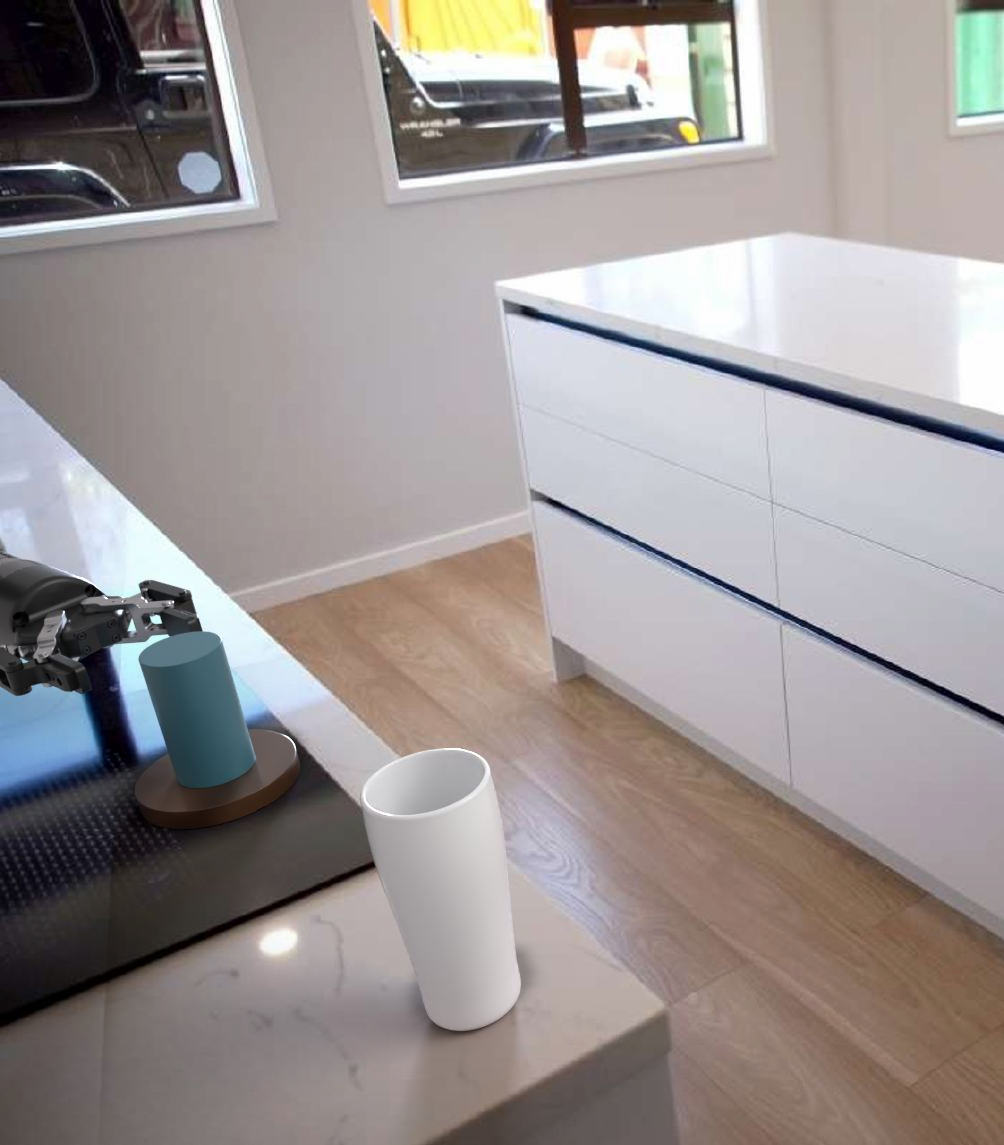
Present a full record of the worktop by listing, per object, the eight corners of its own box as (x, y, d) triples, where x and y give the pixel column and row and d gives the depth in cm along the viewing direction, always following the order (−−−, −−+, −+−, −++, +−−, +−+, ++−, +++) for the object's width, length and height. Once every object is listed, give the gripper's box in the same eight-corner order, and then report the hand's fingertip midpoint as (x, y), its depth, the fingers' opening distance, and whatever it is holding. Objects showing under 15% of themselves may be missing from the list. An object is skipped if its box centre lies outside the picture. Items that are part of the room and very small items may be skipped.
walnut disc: (139, 847, 90) (133, 829, 90) (140, 771, 99) (135, 755, 99) (307, 799, 95) (302, 782, 94) (293, 731, 104) (289, 715, 103)
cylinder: (177, 796, 93) (137, 674, 89) (176, 761, 98) (138, 643, 93) (258, 774, 95) (223, 653, 91) (253, 741, 100) (219, 624, 96)
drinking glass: (388, 1032, 73) (329, 808, 66) (458, 952, 78) (410, 739, 72) (493, 1056, 70) (442, 827, 64) (557, 972, 76) (516, 754, 70)
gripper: (-79, 603, 98) (27, 650, 90) (106, 536, 109) (217, 573, 100) (-45, 689, 102) (60, 743, 93) (132, 616, 112) (241, 658, 104)
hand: (142, 655), depth 97 cm, fingers open, 8 cm apart
